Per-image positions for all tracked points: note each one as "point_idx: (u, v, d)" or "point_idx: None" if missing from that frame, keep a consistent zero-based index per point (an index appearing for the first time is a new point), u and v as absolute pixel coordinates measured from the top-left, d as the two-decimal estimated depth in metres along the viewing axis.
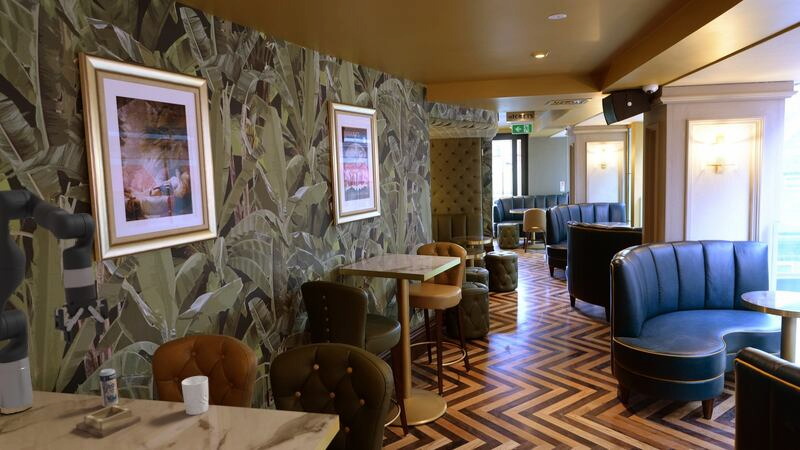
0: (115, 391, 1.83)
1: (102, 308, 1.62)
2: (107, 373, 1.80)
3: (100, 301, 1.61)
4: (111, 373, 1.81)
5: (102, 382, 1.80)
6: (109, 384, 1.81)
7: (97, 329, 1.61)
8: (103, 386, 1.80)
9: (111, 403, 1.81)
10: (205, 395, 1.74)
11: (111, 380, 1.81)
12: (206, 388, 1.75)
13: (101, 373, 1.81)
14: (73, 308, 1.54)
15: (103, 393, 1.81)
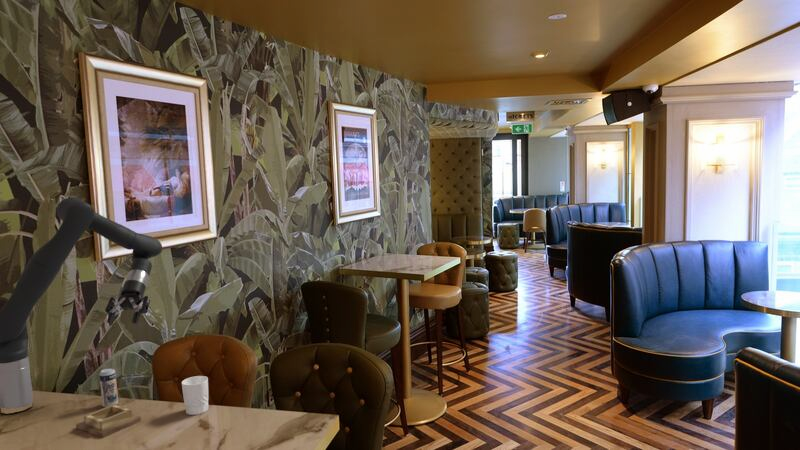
0: (115, 391, 1.83)
1: (113, 305, 1.98)
2: (107, 373, 1.80)
3: None
4: (111, 373, 1.81)
5: (102, 382, 1.80)
6: (109, 384, 1.81)
7: (112, 319, 1.94)
8: (103, 386, 1.80)
9: (111, 403, 1.81)
10: (205, 395, 1.74)
11: (110, 380, 1.81)
12: (206, 388, 1.75)
13: (101, 373, 1.81)
14: None
15: (103, 393, 1.81)
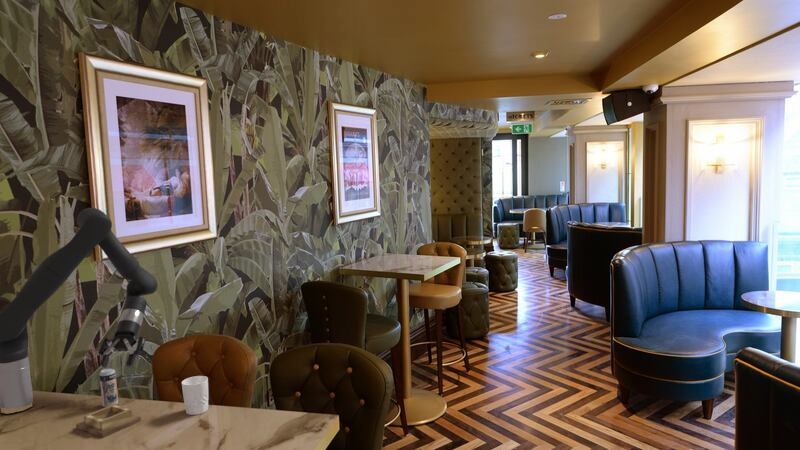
0: (115, 391, 1.83)
1: (106, 347, 1.93)
2: (107, 373, 1.80)
3: None
4: (111, 373, 1.81)
5: (102, 382, 1.80)
6: (109, 384, 1.81)
7: (106, 361, 1.89)
8: (103, 386, 1.80)
9: (111, 403, 1.81)
10: (205, 395, 1.74)
11: (110, 380, 1.81)
12: (206, 388, 1.75)
13: (101, 373, 1.81)
14: None
15: (103, 393, 1.81)
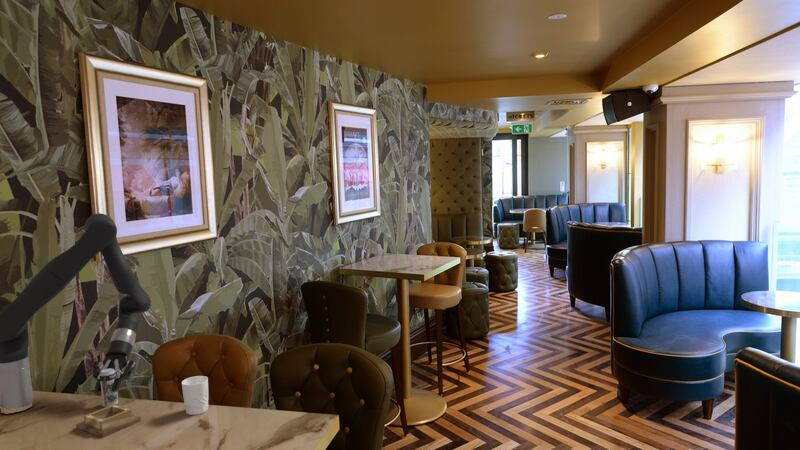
0: None
1: (99, 370, 1.86)
2: (107, 373, 1.80)
3: None
4: (111, 373, 1.81)
5: (102, 382, 1.80)
6: (109, 384, 1.81)
7: (100, 386, 1.82)
8: (103, 386, 1.80)
9: (111, 403, 1.81)
10: (205, 395, 1.74)
11: (111, 380, 1.81)
12: (206, 388, 1.75)
13: (101, 373, 1.80)
14: None
15: (103, 393, 1.81)
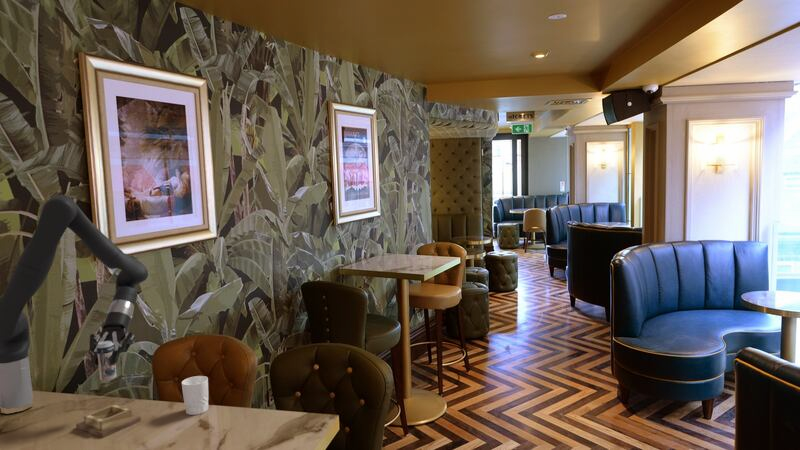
0: None
1: (95, 343, 1.77)
2: (105, 345, 1.71)
3: None
4: (109, 345, 1.72)
5: (99, 355, 1.71)
6: (107, 356, 1.72)
7: (97, 359, 1.73)
8: (101, 359, 1.71)
9: (109, 377, 1.72)
10: (205, 395, 1.74)
11: (108, 353, 1.72)
12: (206, 388, 1.75)
13: (98, 345, 1.71)
14: None
15: (101, 366, 1.72)
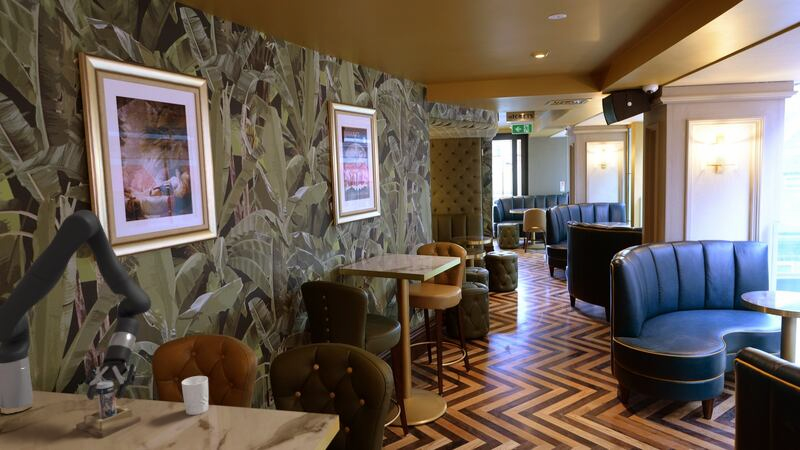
0: (114, 405, 1.68)
1: (94, 375, 1.72)
2: (105, 386, 1.66)
3: None
4: (109, 385, 1.66)
5: (99, 395, 1.66)
6: (107, 397, 1.66)
7: (93, 392, 1.68)
8: (100, 400, 1.66)
9: None
10: (205, 395, 1.74)
11: (109, 394, 1.66)
12: (206, 388, 1.75)
13: (98, 386, 1.66)
14: None
15: (100, 407, 1.66)
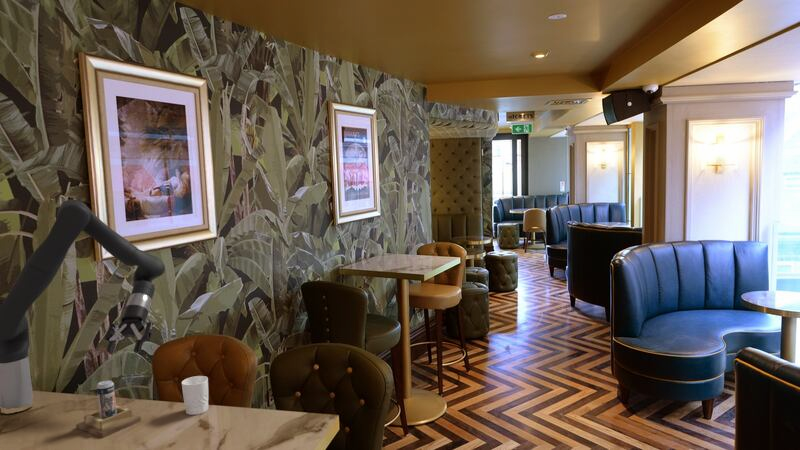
0: (114, 405, 1.68)
1: (113, 332, 1.83)
2: (105, 386, 1.66)
3: None
4: (109, 386, 1.66)
5: (99, 395, 1.66)
6: (107, 397, 1.66)
7: (112, 347, 1.79)
8: (100, 400, 1.66)
9: None
10: (205, 395, 1.74)
11: (109, 394, 1.66)
12: (206, 388, 1.75)
13: (98, 386, 1.66)
14: None
15: (101, 407, 1.66)
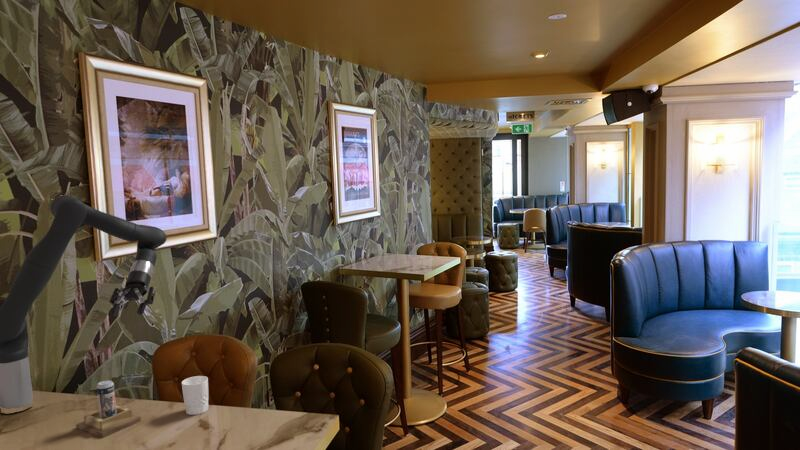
0: (114, 405, 1.68)
1: (117, 296, 1.94)
2: (105, 386, 1.66)
3: None
4: (109, 386, 1.66)
5: (99, 395, 1.66)
6: (107, 397, 1.66)
7: (117, 310, 1.90)
8: (100, 400, 1.66)
9: None
10: (205, 395, 1.74)
11: (109, 394, 1.66)
12: (206, 388, 1.75)
13: (98, 386, 1.66)
14: None
15: (100, 407, 1.66)
